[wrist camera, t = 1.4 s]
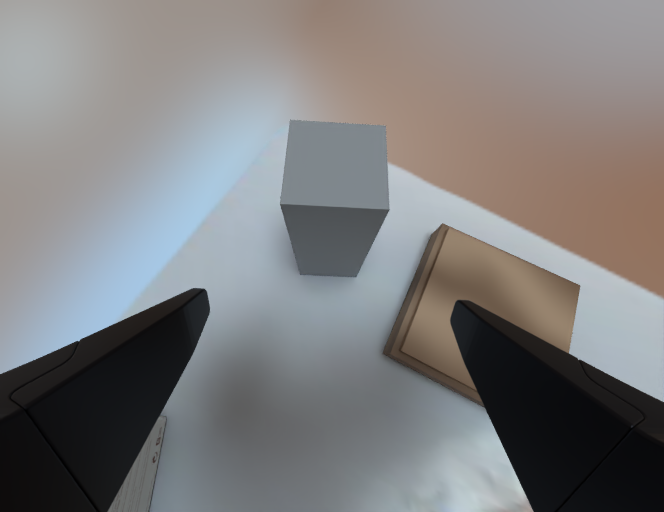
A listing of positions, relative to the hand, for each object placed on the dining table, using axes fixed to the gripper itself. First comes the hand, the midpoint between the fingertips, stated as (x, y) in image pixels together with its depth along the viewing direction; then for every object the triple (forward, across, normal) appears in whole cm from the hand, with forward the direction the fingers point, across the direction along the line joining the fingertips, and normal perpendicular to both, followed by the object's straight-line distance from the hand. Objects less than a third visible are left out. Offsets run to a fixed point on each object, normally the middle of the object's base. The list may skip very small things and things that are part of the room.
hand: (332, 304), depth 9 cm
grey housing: (+14, 0, +4) cm, 15 cm away
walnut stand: (+10, -13, +8) cm, 18 cm away
